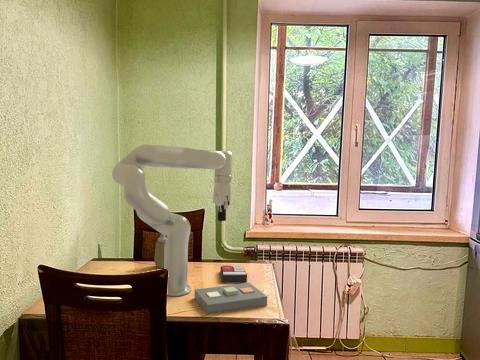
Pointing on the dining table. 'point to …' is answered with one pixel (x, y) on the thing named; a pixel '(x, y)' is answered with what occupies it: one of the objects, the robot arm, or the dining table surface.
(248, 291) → the key terracotta
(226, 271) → the button control box
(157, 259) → the squeeze bottle
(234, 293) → the key sage
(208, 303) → the keypad
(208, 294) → the key ivory
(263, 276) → the dining table surface
